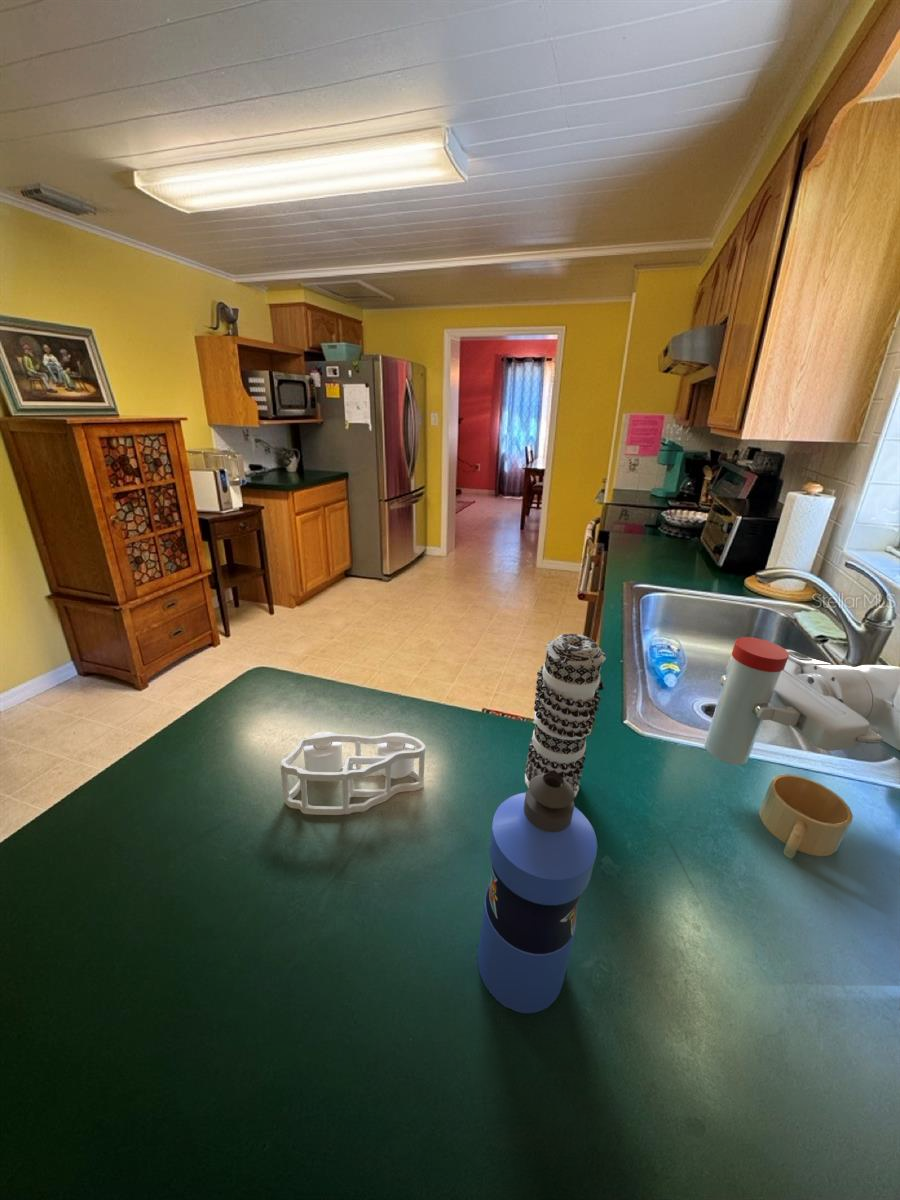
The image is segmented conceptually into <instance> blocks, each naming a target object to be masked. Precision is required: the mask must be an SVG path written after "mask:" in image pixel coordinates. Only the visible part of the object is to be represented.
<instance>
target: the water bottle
mask: <svg viewBox="0 0 900 1200" xmlns="http://www.w3.org/2000/svg"><path fill="white" fill-rule="evenodd" d="M574 796H575V795H574V790H573V788H572V786H571V785H570V784H569V783H568V782H567V781H566V780H565V779H563V778H562V777H561V776H560V775H558V774H556V773H552V772H550V773H544V774H540V775H537V776H535V777H533V778H532V779H531V781H530V783H529V788H528V787H527V790H526V791H525V792H521V793H517V794H514V795H512V796H509V797H508V798H506V799H505V800H504V801H502V802H501V804H500V805H499V806H498V807H497V809H496V810H495V813H494V815H493V818H492V824H491V834H490V840H489V841H490V842H489V860H490V865H491V866H490V867H491V868H490V869H491V878H490V881H489V884H488V885H487V888H486V892H485V897H484V903H483V911H482V918H481V925H480V933H479V943H478V951H477V967H478V971H479V974H480V977H481V980H482V982H483V984H484V987H485V988H486V989H487V991H488V990H489V991H488V993H489V994H490V995H491V994H492V995H491V996H492V997H493V998H494V997H495V998H494V999H495V1000H496V1002H498V1001H499V1002H498V1003H499V1004H501V1005H502V1006H504V1005H505V1006H506V1007H505V1006H504V1007H505V1008H507V1007H508V1008H507V1009H509V1008H510V1009H509V1010H511V1009H512V1010H511V1011H513V1010H514V1011H513V1012H517V1013H521V1014H534V1013H535V1014H536V1013H538V1012H542V1011H544V1010H546V1009H547V1008H549V1007H550V1006H551V1005H552V1004H553V1003H554V1002H555V1001H556V1000H557V998H558V997H559V995H560V993H561V990H562V988H563V984H564V981H565V976H566V972H567V968H568V964H569V959H570V956H571V951H572V948H573V943H574V939H575V934H576V930H577V923H578V917H577V916H578V913H577V912H578V904H579V902H580V900H581V897H582V895H583V893H584V892H585V890H586V889H587V888H588V885H589V883H590V881H591V877H592V873H593V869H594V865H595V861H596V857H597V851H598V841H597V835H596V833H595V829H594V827H593V826H592V824H591V822H590V821H589V819H588V818H587V817H586V816H585V814H584V813H583V812H582V811H580V809H578V808H577V807H576V806H575V801H574V800H575V798H574Z"/></svg>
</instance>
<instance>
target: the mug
mask: <svg viewBox="0 0 900 1200" xmlns="http://www.w3.org/2000/svg"><path fill="white" fill-rule="evenodd" d="M758 812H759V817H760V820H761V823H762V824H763V825H764V827H765V828H766V829H767V830H768V831H769V833H771V835H773V836H774V837H775V838H777V839H778V840H779V841H781V842H782V843H783V844H785V846H784V849H783V854H784V856H785V857H786V858H788V859H793V858H794V857H795V856H796V854H797V851H798V852H801V853H804V854H807V855H811V856H814V857H815V856H816V857H828V856H832V855H834V854H835V853H836V852H837V851H838V848H839V847H840V846H841V843H842V841H844V838H845V835H846V834H847V832H848V830H849V828H850V826H851V824H852V822H853V818H854V815H853V812H852V810H851V807H850V806H849V805H848V804H847V803H846V802H845V800H844V799H843V798H842V797H841V796H840V795H838V794H837V793H836V792H834V791H833V790H832V789H830V788H828V787H827V786H825V785H823V784H821V783H819V782H817V781H815V780H812V779H810V778H808V777H804V776H801V775H797V774H790V773H784V774H783V773H782V774H778V775H776V776H774V777H772V779H771V781H770V782H769V786H768V788H767V790H766V793H765V795H764V797H763V800H762V802H761V805H760V808H759V810H758Z"/></svg>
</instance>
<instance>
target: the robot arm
mask: <svg viewBox="0 0 900 1200" xmlns="http://www.w3.org/2000/svg"><path fill="white" fill-rule="evenodd" d="M785 650H786V651H787V652H788V653H789V657H788V660H787V662H786V665H785V668H784V670H782V671H781V673H780V676H779V679H778V681H777V684H776V687H775V689H774V692H773V695H772V697H771V700H770V703H769V704H767V703H762V704H761V703H757V704H755V705H754V709H753V711H752V713H753V714H754V715H756V716H757V717H758V718H759V719H760V720H763V721H771V722H775V723H778V724H781V725H784V726H787V727H791V728H793V729H794V731H796V732H797V733H798V734H800V735H801V736H802V737H803V738H804V739H806V741H808V742H809V743H810V744H811V745H813V746H814V747H815V748H818V749H821V750H823V751H829V752H833V751H835V752H836V751H843V750H848V749H854V748H857V747H859V746H861V745H862V744H865V745H877V744H878V745H879V746H880V747H882V748H883V750H885V751H886V752H887V753H888V754H889V755H891V756H892V757H894V758H895V759H897V760H899V761H900V666H896V665H895V666H893V665H883V664H862V665H858V666H854V667H853V666H850V665H844V664H832V663H829V662H826V661H822V660H818V659H814V658H812V657H810V656H807V655H805V654H802V653H800V652H797V651H795V650H794V649H793V650H792V649H785ZM731 659H732V654H731V655H730V656H729V658H728V661H727V664H726V667H725V672H726V673H727V671H728V668H729V665H730V662H731ZM725 678H726V674H723V675H722V676H721V677H720V680H719V685H720V686H721V687H723V684H724V681H725Z"/></svg>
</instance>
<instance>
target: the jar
mask: <svg viewBox="0 0 900 1200" xmlns="http://www.w3.org/2000/svg"><path fill="white" fill-rule="evenodd" d="M786 650H787V649H786V648H784V647H782V646H780V645H779V644H776V643H774V642H772V641H769V640H766V639H761V638H756V637H748V636H744V637H739V638H737V639H736V640H735V641H734V644H733V648H732V651H731V655H732V659H731V662H730V665H729V668H728V671H727V672H726V674H725V675H726V678H725V681H724V684H723V686H721V690H720V693H719V696H718V699H717V702H716V705H715V708H714V712H713V715H712V718H711V721H710V724H709V727H708V731H707V734H706V736H705V740H704V743H703V745H704V749H705V750H706V752H707V753H708V754H709V755H710V756H712V757H713V758H714V759H716V760H718V761H720V762H723V763H725V764H729V765H735V766H742V765H745V764H746V763H748V761H749V759H750V756H751V752H752V750H753V747H754V746H755V742H756V740H757V737H758V735H759V732H760V730H761V729H760V728H761V726H762V724H763V721H764V720H760V719H759V718H758V717H757V716H756V715H754V714H753V713H752V711H753V709H754V705H755V704H757V703H761V704H762V703H767V704H769V703H770V700H771V697H772V695H773V692H774V689H775V687H776V684H777V681H778V679H779V676H780V673H781V671H782V670H784V668H785V665H786V662H787V660H788V657H789V653H788V652H787V651H786Z"/></svg>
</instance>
